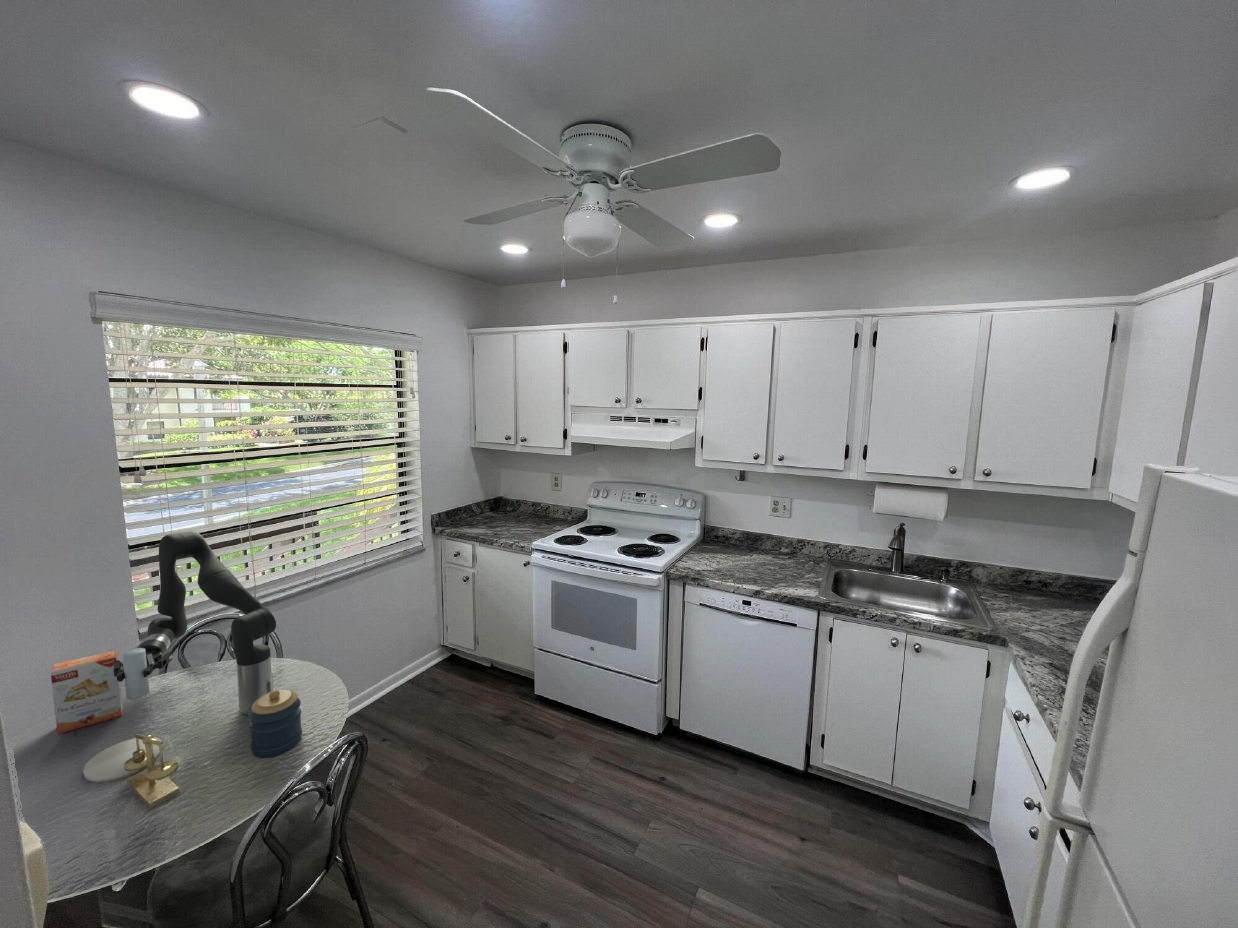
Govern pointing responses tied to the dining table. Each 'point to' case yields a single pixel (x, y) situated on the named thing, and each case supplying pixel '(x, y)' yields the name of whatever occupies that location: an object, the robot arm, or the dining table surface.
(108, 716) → the cracker box
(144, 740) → the brass balance
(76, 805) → the dining table surface
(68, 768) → the dining table surface
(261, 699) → the canister
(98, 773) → the cream plate
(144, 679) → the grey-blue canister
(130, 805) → the dining table surface
